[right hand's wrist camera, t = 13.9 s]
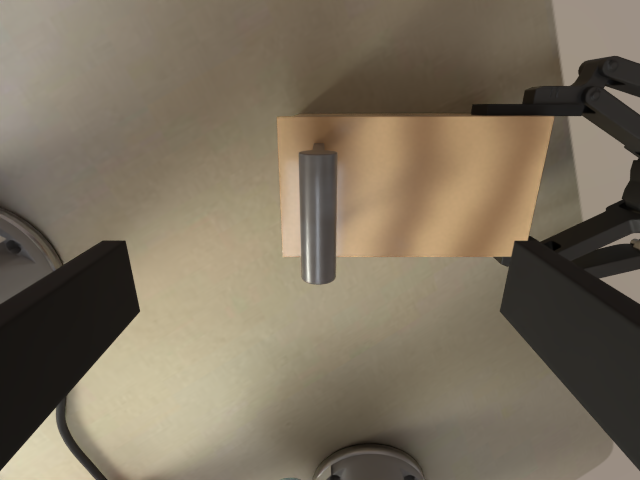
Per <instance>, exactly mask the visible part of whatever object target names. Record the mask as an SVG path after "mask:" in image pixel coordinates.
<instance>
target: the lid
mask: <svg viewBox="0 0 640 480" xmlns="http://www.w3.org/2000/svg"><path fill="white" fill-rule="evenodd" d="M553 122H554V116H278V117H277V136H278V159H279V182H280V206H281V229H282V253H283V257H301V277H302V279H303V280H304V281H305V282H307V283H310V284H327V283H330V282H332V281H333V280H334V279H335V278H336V257H511V255H512V251H513V246H514V241H528V237H529V232H530V227H531V223H532V218H533V214H534V209H535V204H536V200H537V195H538V191H539V186H540V181H541V177H542V172H543V168H544V163H545V158H546V154H547V149H548V145H549V140H550V135H551V131H552V126H553Z"/></svg>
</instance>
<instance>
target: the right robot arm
mask: <svg viewBox="0 0 640 480" xmlns="http://www.w3.org/2000/svg"><path fill="white" fill-rule="evenodd" d="M139 312H140V309H139V304H138V299H137V294H136V289H135V284H134V280H133V275H132V270H131V265H130V260H129V255H128V251H127V246H126V241H101V242H100V243H98V244H97V245H95V246H93V247H92V248H90V249H89V250H87V251H85V252H84V253H82V254H80V255H79V256H77V257H76V258H74V259H72V260H71V261H69V262H68V263H66V264H64V265H63V266H62V263H61V261H60V259H59V257H58V255H57V253H56V252H55V250H54V249H53V247H52V246H51V244H50V243H49V242H48V241H47V240H46V238H45V237H44V236H43V235H42V234H41V233H40V232H39V231H38V230H37V229H35V228H34V227H33V226H32V225H31V224H29V223H28V222H27V221H25V220H24V219H22V218H21V217H19V216H17V215H15V214H14V213H12V212H10V211H8V210H5V209H3V208H0V471H1V469H2V468H3V467H4V466H5V465H6V464H7V463H8V461H9V460H10V459H11V458H12V457H13V456H14V455H15V453H16V452H17V451H18V450H19V449H20V448H21V447H22V445H23V444H24V443H25V442H26V441H27V440H28V439H29V438H30V436H31V435H32V434H33V433H34V432H35V431H36V430H37V428H38V427H39V426H40V425H41V424H42V423H43V422H44V420H45V419H46V418H47V417H48V416H49V415H50V414H51V412H52V411H53V410H54V409H55V408H56V421H57V426H58V429H59V432H60V434H61V436H62V438H63V440H64V442H65V444H66V445H67V447H68V448H69V449H70V451H71V452H72V453H73V455H74V456H75V457H76V458H77V459H78V460H79V461H80V463H81V464H82V465H83V466H84V467H85V468H86V469H87V470H88V471H89V473H90V474H91V475H92V476H93V477H94V478H95V479H96V480H107V479H106V478H105V476H104V475H103V474H102V473H101V472H100V471H99V470H98V468H97V467H96V466H95V465H94V464H93V463H92V462H91V460H90V459H89V458H88V457H87V456H86V455H85V454H84V453H83V451H82V450H81V449H80V448H79V446H78V445H77V444H76V442H75V441H74V439H73V437H72V436H71V434H70V432H69V430H68V427H67V424H66V420H65V403H66V395H67V394H68V393H69V392H70V391H71V390H72V388H73V387H74V386H75V385H76V384H77V383H78V382H79V380H80V379H81V378H82V377H83V376H84V375H85V374H86V372H87V371H88V370H89V369H90V368H91V367H92V366H93V364H94V363H95V362H96V361H97V360H98V359H99V358H100V357H101V355H102V354H103V353H104V352H105V351H106V350H107V349H108V347H109V346H110V345H111V344H112V343H113V342H114V341H115V339H116V338H117V337H118V336H119V335H120V334H121V333H122V331H123V330H124V329H125V328H126V327H127V326H128V325H129V323H130V322H131V321H132V320H133V319H134V318H135V317H136V315H137V314H138V313H139ZM500 312H501V313H502V314H503V315H504V317H505V318H506V319H507V320H508V321H509V322H510V323H511V325H512V326H513V327H514V328H515V329H516V330H517V331H518V333H519V334H520V335H521V336H522V337H523V338H524V339H525V341H526V342H527V343H528V344H529V345H530V346H531V347H532V349H533V350H534V351H535V352H536V353H537V354H538V355H539V357H540V358H541V359H542V360H543V361H544V362H545V363H546V365H547V366H548V367H549V368H550V369H551V370H552V371H553V372H554V374H555V375H556V376H557V377H558V378H559V379H560V380H561V382H562V383H563V384H564V385H565V386H566V387H567V388H568V390H569V391H570V392H571V393H572V394H573V395H574V396H575V398H576V399H577V400H578V401H579V402H580V403H581V404H582V406H583V407H584V408H585V409H586V410H587V411H588V412H589V414H590V415H591V416H592V417H593V418H594V419H595V420H596V422H597V423H598V424H599V425H600V426H601V427H602V428H603V430H604V431H605V432H606V433H607V434H608V435H609V436H610V438H611V439H612V440H613V441H614V442H615V443H616V444H617V445H618V447H619V448H620V449H621V450H622V451H623V452H624V453H625V455H626V456H627V457H628V458H629V459H630V460H631V461H632V463H633V464H634V465H635V466H636V467H637V468H638V469H639V471H640V304H639V303H637V302H635V301H634V300H632V299H631V298H629V297H627V296H626V295H624V294H622V293H621V292H619V291H618V290H616V289H614V288H613V287H611V286H610V285H608V284H606V283H605V282H603V281H601V280H600V279H598V278H597V277H595V276H593V275H592V274H590V273H589V272H587V271H585V270H584V269H582V268H581V267H579V266H577V265H576V264H574V263H572V262H571V261H569V260H568V259H566V258H564V257H563V256H561V255H560V254H558V253H556V252H555V251H553V250H551V249H550V248H548V247H547V246H545V245H543V244H542V243H540V242H539V241H514V246H513V251H512V255H511V260H510V265H509V270H508V275H507V280H506V284H505V289H504V294H503V299H502V304H501V309H500Z"/></svg>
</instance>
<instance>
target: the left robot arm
mask: <svg viewBox="0 0 640 480" xmlns="http://www.w3.org/2000/svg"><path fill="white" fill-rule="evenodd" d="M578 73H579V77H578V78H577V80H576V81H575V83H573V84H572V85H571V86H540V87H532V88H529V89H527V90H525V93H524V98H523V103H522V104H472V111H471V115H485V116H516V115H539V116H584V117H585V118H586V119H588V120H589V121H591V122H592V123H594V124H595V125H597V126H598V127H599V128H601V129H602V130H604V131H605V132H607V133H608V134H609V135H611V136H612V137H614V138H615V139H617V140H618V141H620V142H621V143H622V144H624V145H625V146H624V148H625V149H627V150H628V151H630V152H631V153H633V154H634V155H636V156H637V157H638V160H634V161H633V164H632V167H631V170H630V181H629V183H628V185H627V186H626V188H625V190H624V193H623V196H622V199H623V200H621V201H619V202H617V203H615V204H612V205H610V206H608V207H607V208H606V211H605V212H603V213H601V214H599V215H597V216H595V217H593V218H591V219H588V220H586V221H584V222H582V223H580V224H578V225H576V226H573V227H571V228H569V229H567V230H565V231H563V232H561V233H558V234H556V235H554V236H552V237H550V238H548V239H546V240H543V241H541V242H540V243H542V244H543V245H545V246H547V247H548V248H550V249H551V250H553V251H555V252H556V253H558V254H560V255H561V256H563V257H564V258H566V259H568V260H569V261H571V262H572V263H574V264H576V265H577V266H579V267H581V268H582V269H584V270H585V271H587V272H589V273H590V274H592V275H593V276H595V277H597V278H598V279H599V278H603V277H607V276H612V275H616V274H620V273H624V272H629V271H633V270H637V269H640V239H639V240H638V239H633V240H631V242H630V244H619V245H613V246H609V247H605V248H601V247H603V246H605V245H607V244H610V243H612V242H614V241H616V240H618V239H621V238H623V237H625V236H627V235H630V234H632V233H640V115H639V114H638V113H636V112H635V111H634V110H632V109H631V108H629V107H628V106H627V105H625V104H624V103H623V102H621V101H620V100H618V99H617V98H616V97H614V96H613V95H612V94H610V93H609V92H607V91H606V90H605V89H603V88H604V87H605V86H607V87H610V88H613V89H616V90H619V91H622V92H625V93H628V94H631V95H634V96H637V97H640V64H639V63H636V62H633V61H630V60H627V59H624V58H621V57H618V56H611V57H605V58H600V59H594V60H588V61H585V62H584V63H582V64H581V66H580V67H579V70H578ZM528 241H537V240H536V239H534V238H533V237H531V236H529V237H528ZM599 248H601V249H599ZM596 249H597V250H596ZM494 258H495V259H496V260H497V261H498V262H499V263H501V264H502V265H505V266H509V265H510V260H511V257H494ZM281 480H300V479H297V478H284V479H281ZM313 480H424V476H423V473H422V470H421V468H420V466H419V465H418V463H417V462H416V461H415V460H414V459H413V458H412V457H411V456H409V455H408V454H407V453H405V452H403V451H401V450H399V449H396V448H393V447H390V446H385V445H379V444H363V445H356V446H351V447H347V448H345V449H342V450H340V451H337V452H335V453H334V454H332V455H330V456H329V457H328V458H326V459H325V460H324V461H323V462H322V463H321V464H320V465H319V467H318V468H317V470H316V472H315V474H314V476H313Z"/></svg>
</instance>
